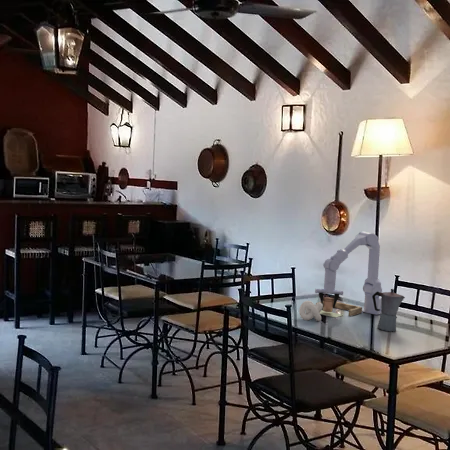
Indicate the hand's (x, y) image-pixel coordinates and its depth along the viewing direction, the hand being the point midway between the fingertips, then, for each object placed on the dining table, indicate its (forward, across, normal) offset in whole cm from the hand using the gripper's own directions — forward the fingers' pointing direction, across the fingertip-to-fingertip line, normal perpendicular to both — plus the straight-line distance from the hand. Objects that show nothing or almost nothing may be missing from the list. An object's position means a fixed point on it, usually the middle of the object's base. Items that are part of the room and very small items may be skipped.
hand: (328, 307), depth 325 cm
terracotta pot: (+2, 0, 0) cm, 2 cm away
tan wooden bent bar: (+3, -6, -10) cm, 12 cm away
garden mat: (+3, 0, 0) cm, 3 cm away
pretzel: (+4, +8, +17) cm, 19 cm away
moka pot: (+4, -28, +22) cm, 35 cm away
